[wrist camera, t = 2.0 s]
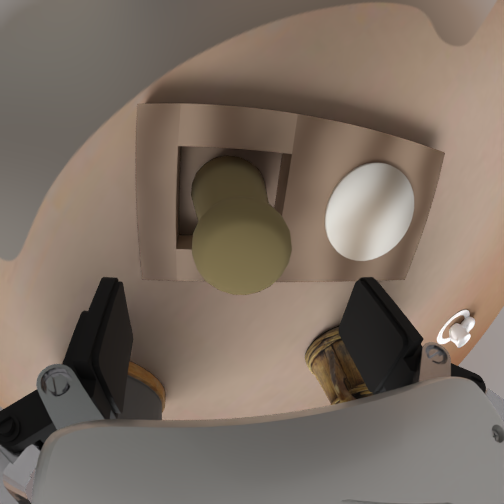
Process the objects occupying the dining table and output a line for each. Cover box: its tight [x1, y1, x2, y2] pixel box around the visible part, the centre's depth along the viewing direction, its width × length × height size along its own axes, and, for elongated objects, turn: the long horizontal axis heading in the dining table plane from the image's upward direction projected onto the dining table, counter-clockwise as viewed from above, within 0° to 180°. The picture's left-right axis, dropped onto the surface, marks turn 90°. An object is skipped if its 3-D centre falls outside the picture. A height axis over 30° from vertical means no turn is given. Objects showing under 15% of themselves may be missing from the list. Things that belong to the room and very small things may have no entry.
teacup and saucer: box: [437, 310, 475, 348], centre depth 39 cm, size 9×8×4 cm
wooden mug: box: [305, 327, 373, 405], centre depth 27 cm, size 9×14×18 cm, turn 39°
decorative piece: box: [118, 361, 165, 420], centre depth 21 cm, size 16×16×30 cm
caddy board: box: [136, 103, 445, 282], centre depth 23 cm, size 26×14×3 cm, turn 84°
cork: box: [191, 156, 292, 295], centre depth 18 cm, size 6×6×11 cm
